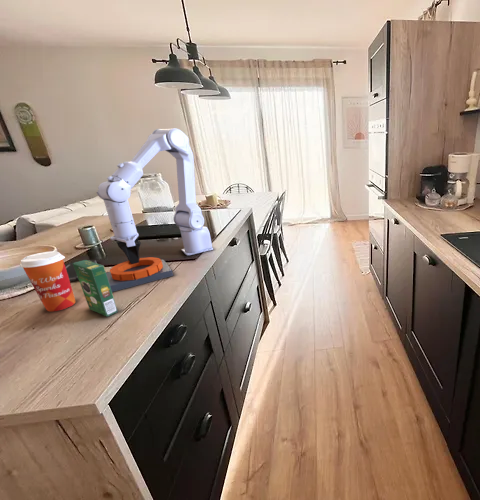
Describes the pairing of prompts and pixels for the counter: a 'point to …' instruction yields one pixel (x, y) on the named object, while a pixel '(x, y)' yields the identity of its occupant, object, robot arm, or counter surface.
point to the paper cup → (49, 279)
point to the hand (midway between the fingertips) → (134, 261)
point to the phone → (73, 271)
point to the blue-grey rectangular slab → (120, 285)
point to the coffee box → (95, 287)
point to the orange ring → (131, 275)
